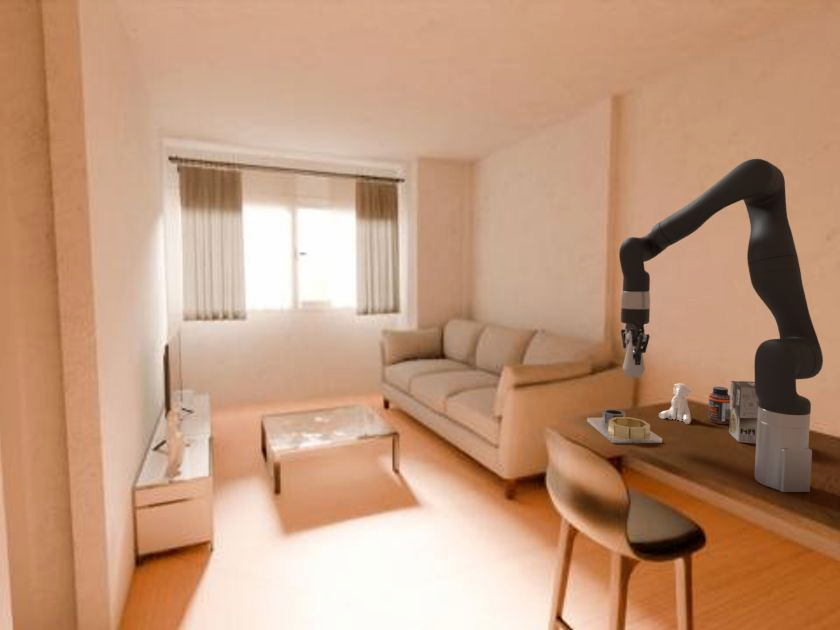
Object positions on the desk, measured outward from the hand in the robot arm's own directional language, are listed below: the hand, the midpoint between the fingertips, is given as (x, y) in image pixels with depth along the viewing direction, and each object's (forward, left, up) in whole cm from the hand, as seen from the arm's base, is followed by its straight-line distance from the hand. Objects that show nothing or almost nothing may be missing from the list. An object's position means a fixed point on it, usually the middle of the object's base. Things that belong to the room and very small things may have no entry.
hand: (633, 365), depth 134 cm
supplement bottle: (+12, -34, -22) cm, 42 cm away
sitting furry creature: (+16, -23, -22) cm, 35 cm away
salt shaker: (0, 0, -3) cm, 3 cm away
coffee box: (-3, -32, -22) cm, 39 cm away
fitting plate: (+4, +1, -21) cm, 22 cm away
